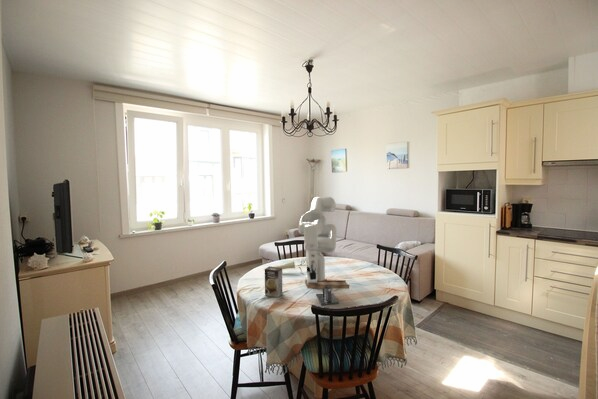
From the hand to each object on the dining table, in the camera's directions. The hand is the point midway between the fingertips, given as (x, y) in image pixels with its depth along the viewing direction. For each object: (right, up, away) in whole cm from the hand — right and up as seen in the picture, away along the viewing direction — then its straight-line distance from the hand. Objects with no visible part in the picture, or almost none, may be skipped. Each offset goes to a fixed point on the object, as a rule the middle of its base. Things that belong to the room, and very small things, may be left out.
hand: (311, 276), depth 161 cm
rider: (0, -4, +1) cm, 4 cm away
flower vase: (-12, -11, +49) cm, 52 cm away
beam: (+9, -6, +2) cm, 11 cm away
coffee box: (-22, -14, +11) cm, 28 cm away
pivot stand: (+9, -14, +2) cm, 17 cm away
